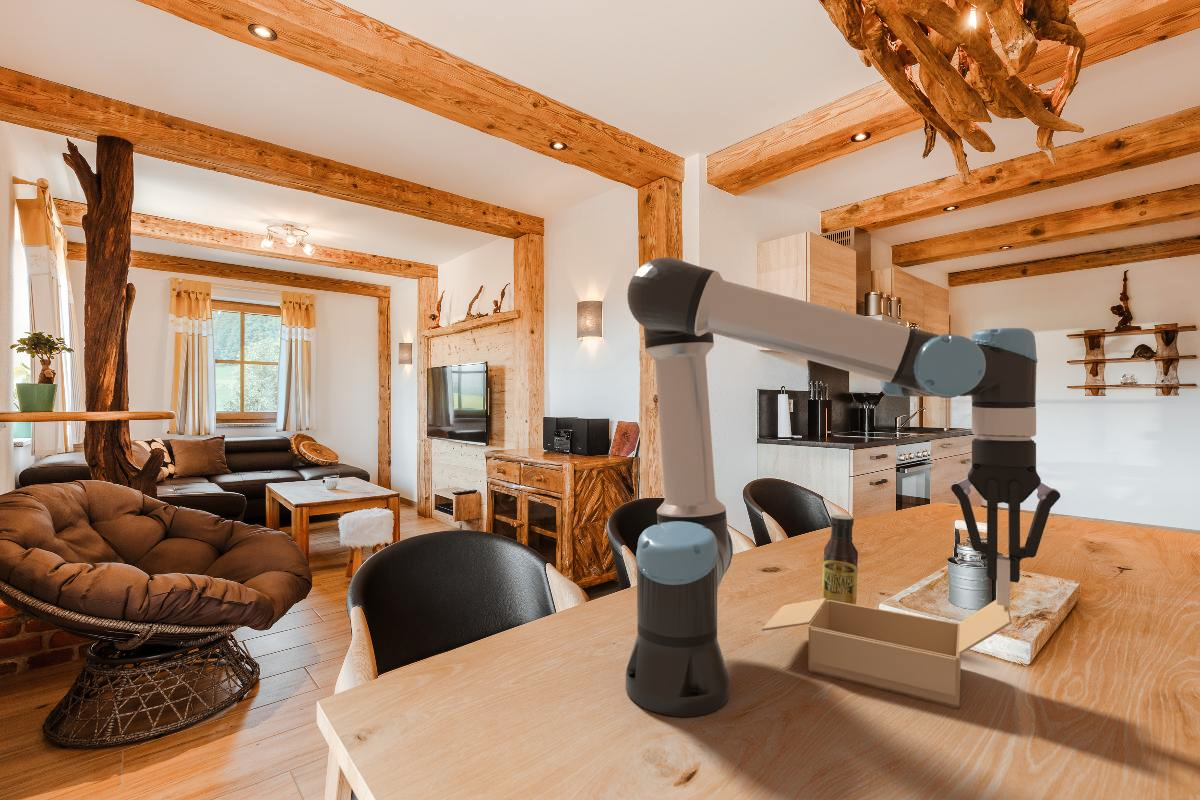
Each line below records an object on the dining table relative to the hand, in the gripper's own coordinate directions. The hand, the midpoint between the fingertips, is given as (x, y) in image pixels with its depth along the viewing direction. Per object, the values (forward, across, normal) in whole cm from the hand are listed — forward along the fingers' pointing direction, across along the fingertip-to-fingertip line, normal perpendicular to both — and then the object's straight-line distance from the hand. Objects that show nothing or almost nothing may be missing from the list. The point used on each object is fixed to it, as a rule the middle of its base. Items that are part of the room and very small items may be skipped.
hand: (1002, 602), depth 82 cm
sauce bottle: (+14, +25, -18) cm, 34 cm away
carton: (+14, +15, 0) cm, 20 cm away
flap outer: (+6, +5, 0) cm, 8 cm away
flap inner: (+6, +25, 0) cm, 26 cm away
